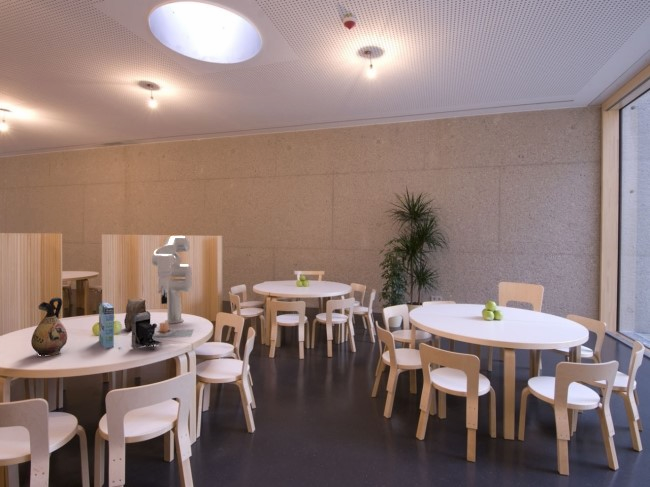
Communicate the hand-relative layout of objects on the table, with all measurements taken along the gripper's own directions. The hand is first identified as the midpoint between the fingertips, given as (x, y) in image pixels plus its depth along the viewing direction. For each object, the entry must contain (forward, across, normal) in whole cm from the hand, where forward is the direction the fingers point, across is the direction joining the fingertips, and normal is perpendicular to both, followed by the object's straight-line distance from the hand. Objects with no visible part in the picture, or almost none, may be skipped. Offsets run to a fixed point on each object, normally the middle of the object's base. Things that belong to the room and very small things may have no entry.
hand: (164, 303), depth 230 cm
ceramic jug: (+21, +22, -53) cm, 61 cm away
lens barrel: (+20, 0, 0) cm, 20 cm away
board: (+21, 0, +5) cm, 22 cm away
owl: (+21, -24, -24) cm, 40 cm away
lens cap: (+20, 0, 0) cm, 20 cm away
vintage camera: (+21, +24, -5) cm, 32 cm away
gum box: (+21, +10, -30) cm, 38 cm away
